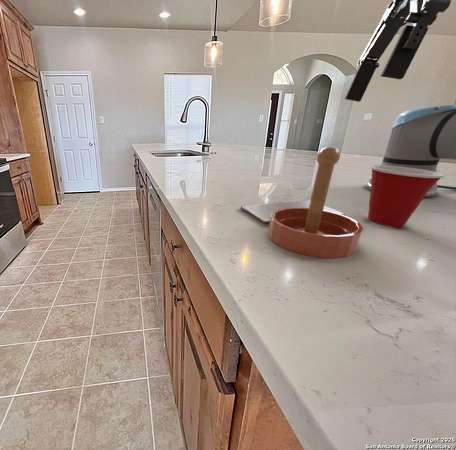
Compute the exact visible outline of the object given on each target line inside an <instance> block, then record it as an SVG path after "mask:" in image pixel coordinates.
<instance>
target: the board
mask: <svg viewBox="0 0 456 450" xmlns="http://www.w3.org/2000/svg"><path fill="white" fill-rule="evenodd" d="M310 201H311V199H309V200H308V199H307V200H298V201H286V202H273V203H262V204H252V205H251V204H250V205H241V206H240V210H242V211H243V212H245V213H246V214H248V215H250V216H251V217H252V218H254V219H255V220H257V221H258V222H259V223H261V224H262V225H270V219H271V214H272V213H273V212H274V211H276V210H279V209H283V208H309V205H310ZM323 210H326V211H331V212H334V213H338V214H342V215H344V216H346V213H344V212H342V211H339V210H337V209H334V208H332V207H329V206H326V205H324V209H323Z"/></svg>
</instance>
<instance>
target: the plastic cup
mask: <svg viewBox="0 0 456 450" xmlns="http://www.w3.org/2000/svg"><path fill="white" fill-rule="evenodd" d="M370 169H371V178H372V180H371V182H372V184H371V190H370V193H369V202H368V214H367V218H368V220H369V221H370V222H373V223H375V224H379V225H381V226H382V225H383V226H389V227H391V228H394V229H402V228H403V227H404V226H406V224H407V222H408V221H409V219H410V218H411V216H412V215H413V214H414V213H415V211H416V210H417V208H418V207H419V205H420V204H421V203H422V202H423V199H424V198H425V197H424V196H425V195H426V194H427V192H428V191H429V189H431V187H432V186H433V185H434V184H435V183H436V182H437V183H438V181H440V180H441V179H442V178H444V177H445V173H441V172H437V171H436V172H433V171H428V170H422V169H415V168H407V167H398V166H386V165H381V164H375V165H371V166H370Z"/></svg>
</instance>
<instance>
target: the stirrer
mask: <svg viewBox="0 0 456 450" xmlns="http://www.w3.org/2000/svg"><path fill="white" fill-rule="evenodd" d="M340 158H341V153H340V150H339V149H338V148H336V147H335V146H326V147H323V148H322V149H320V150H319V151H318V153H317V154H316V162H317V164H318V165H317V169H316V174H315V179H314V184H313V187H312V193H311V196H310V200H311V201H310V205H309V210H308V214H307V219H306V224H305V228H301V229H297V230H299V231H304V232H308V233H314V234H321V235H325V234H324V233H322V232H320V231H318V229H319V225H320V221H321V217H322V213H323V209H324V206H326V200H327V196H328V192H329V188H330V184H331V181H332V177H333V176H332V175H333V172H334V168H335V165H336V164H337V163H338V162H339V161H340Z"/></svg>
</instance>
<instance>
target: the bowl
mask: <svg viewBox="0 0 456 450" xmlns="http://www.w3.org/2000/svg"><path fill="white" fill-rule="evenodd" d="M308 210H309V208H283V209H279V210H276V211H274V212H273V213H272V214H271V219H270V224H268V225H269V227H268V232H267V236H268V237H269V239H270V240H271V241H272V242H273V243H274V244H276V245H277V246H279V247H281V248H283V249H285V250H287V251H290V252H294V253H297V254H299V255H302V256H303V255H304V256H309V257H314V258H321V259H338V258H339V259H340V258H346V257H349V256H352V255H354V254H355V253H356V251H357V249H358V245H359V242H360V239H361V237H362V234H363V231H364V227H363V225H362V224H361V223H360V222H358V221H357V220H355V219H354V218H352V217H349V216H347V215H345V216H344V215H342V214H338V213H334V212H331V211H326V210H323V213H322V217H321V221H320V225H319V229H318V231H320V232H322V233H324V234H325V235H321V234H314V233H308V232H304V231H299V230H297V229H301V228H305V224H306V219H307V214H308Z"/></svg>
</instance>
